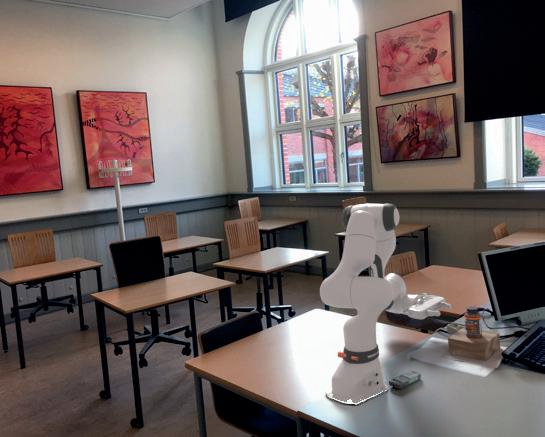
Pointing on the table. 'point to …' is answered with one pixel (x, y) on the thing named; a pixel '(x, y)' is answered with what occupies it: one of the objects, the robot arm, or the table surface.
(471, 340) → the walnut block
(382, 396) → the table surface
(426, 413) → the table surface
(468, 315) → the supplement bottle
